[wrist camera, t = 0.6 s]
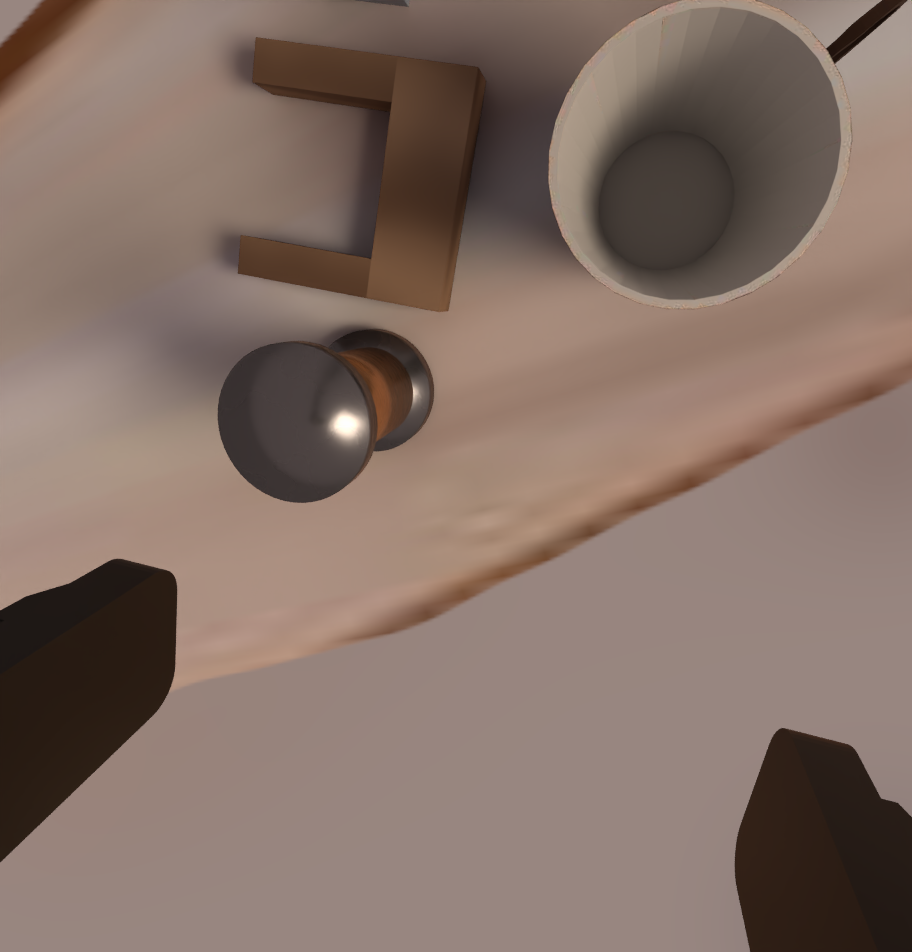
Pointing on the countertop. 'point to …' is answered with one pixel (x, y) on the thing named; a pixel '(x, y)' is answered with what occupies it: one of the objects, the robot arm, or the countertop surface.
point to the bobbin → (321, 410)
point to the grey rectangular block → (390, 2)
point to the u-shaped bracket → (384, 170)
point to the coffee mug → (703, 150)
